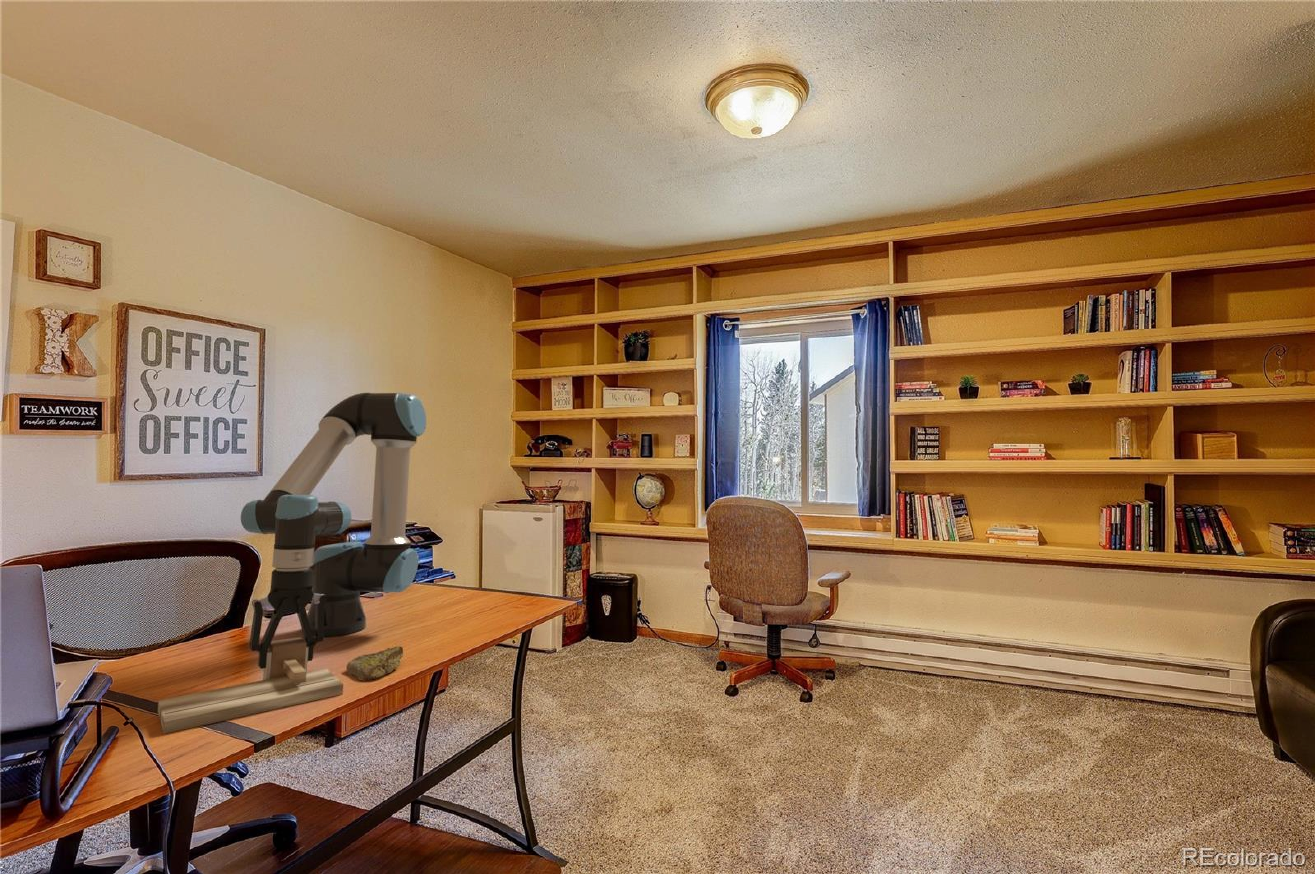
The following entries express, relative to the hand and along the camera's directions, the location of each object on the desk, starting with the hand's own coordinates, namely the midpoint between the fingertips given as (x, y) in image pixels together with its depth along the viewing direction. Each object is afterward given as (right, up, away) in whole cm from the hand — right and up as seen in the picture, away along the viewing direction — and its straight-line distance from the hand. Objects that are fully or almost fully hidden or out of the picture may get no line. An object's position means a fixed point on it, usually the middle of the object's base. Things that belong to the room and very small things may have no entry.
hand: (284, 680), depth 129 cm
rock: (+15, -2, +8) cm, 17 cm away
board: (+1, 0, -11) cm, 11 cm away
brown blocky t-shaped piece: (+3, 0, -4) cm, 5 cm away
